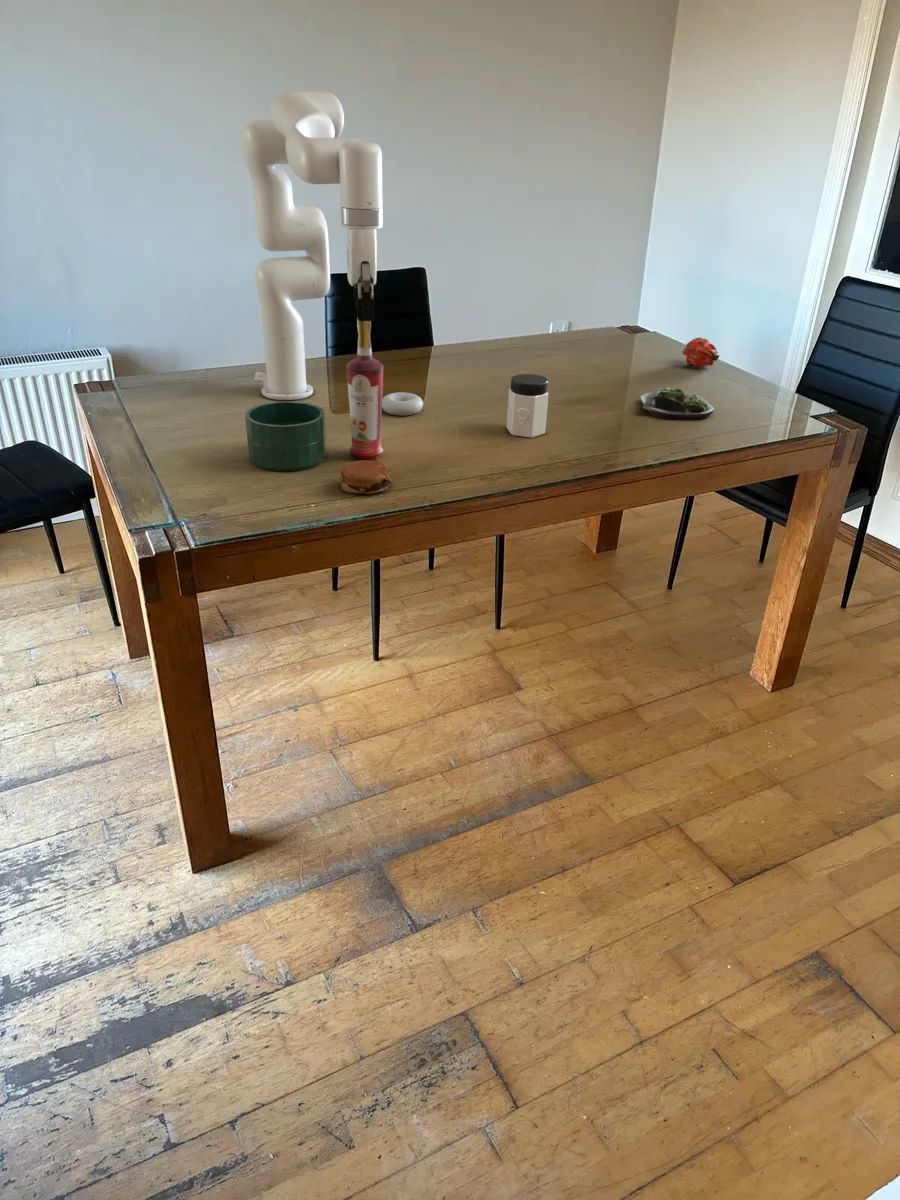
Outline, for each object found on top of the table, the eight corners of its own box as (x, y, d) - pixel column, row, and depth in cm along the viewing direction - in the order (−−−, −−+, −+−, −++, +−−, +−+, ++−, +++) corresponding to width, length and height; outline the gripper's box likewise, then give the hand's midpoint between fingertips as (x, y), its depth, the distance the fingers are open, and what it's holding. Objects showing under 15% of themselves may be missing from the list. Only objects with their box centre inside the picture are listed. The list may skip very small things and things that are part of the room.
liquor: (344, 460, 179) (340, 321, 165) (354, 448, 185) (350, 312, 171) (379, 463, 178) (378, 323, 164) (387, 451, 184) (386, 315, 170)
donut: (376, 415, 204) (417, 419, 202) (375, 401, 202) (417, 404, 201) (387, 403, 213) (427, 406, 211) (386, 389, 211) (427, 392, 209)
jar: (501, 434, 195) (505, 381, 189) (510, 423, 202) (514, 371, 196) (541, 439, 193) (545, 386, 187) (548, 428, 200) (553, 376, 194)
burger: (331, 483, 168) (330, 461, 166) (373, 474, 173) (372, 452, 171) (357, 502, 162) (356, 478, 159) (399, 491, 166) (399, 468, 164)
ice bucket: (234, 464, 175) (229, 419, 170) (274, 440, 188) (271, 397, 183) (302, 477, 171) (300, 431, 166) (339, 451, 183) (337, 407, 178)
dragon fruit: (684, 365, 256) (710, 382, 247) (670, 350, 250) (696, 367, 242) (704, 341, 253) (731, 357, 245) (690, 326, 248) (717, 342, 239)
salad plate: (627, 394, 224) (630, 376, 221) (696, 396, 225) (699, 378, 222) (644, 419, 207) (647, 400, 205) (718, 421, 208) (722, 402, 206)
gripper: (338, 212, 165) (342, 305, 174) (343, 224, 150) (347, 325, 159) (378, 212, 166) (379, 305, 175) (387, 224, 152) (388, 325, 160)
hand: (364, 314), depth 167 cm, fingers open, 9 cm apart
